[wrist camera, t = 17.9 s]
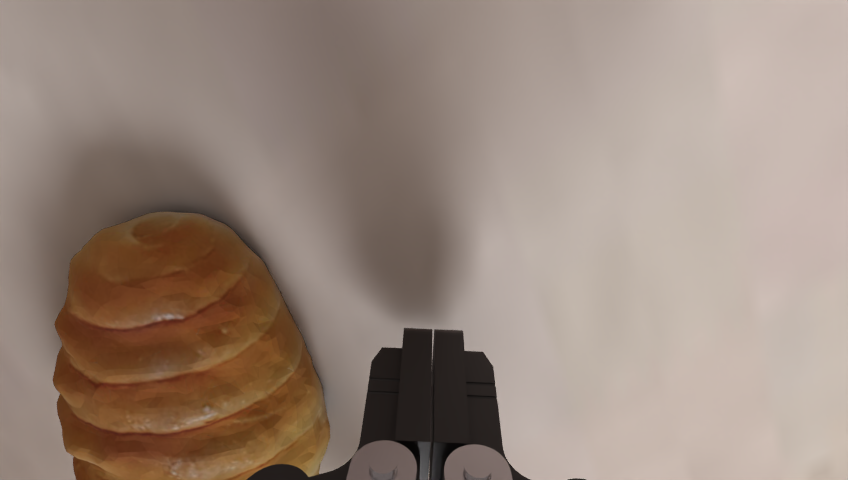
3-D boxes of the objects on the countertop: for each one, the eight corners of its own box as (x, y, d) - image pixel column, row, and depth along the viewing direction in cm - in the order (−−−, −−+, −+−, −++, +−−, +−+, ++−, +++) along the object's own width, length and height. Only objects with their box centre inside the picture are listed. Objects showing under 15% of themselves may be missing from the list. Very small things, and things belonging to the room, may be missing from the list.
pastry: (33, 198, 14) (-90, 287, 11) (306, 193, 14) (266, 281, 11) (138, 458, 19) (74, 575, 15) (344, 456, 19) (324, 574, 15)
